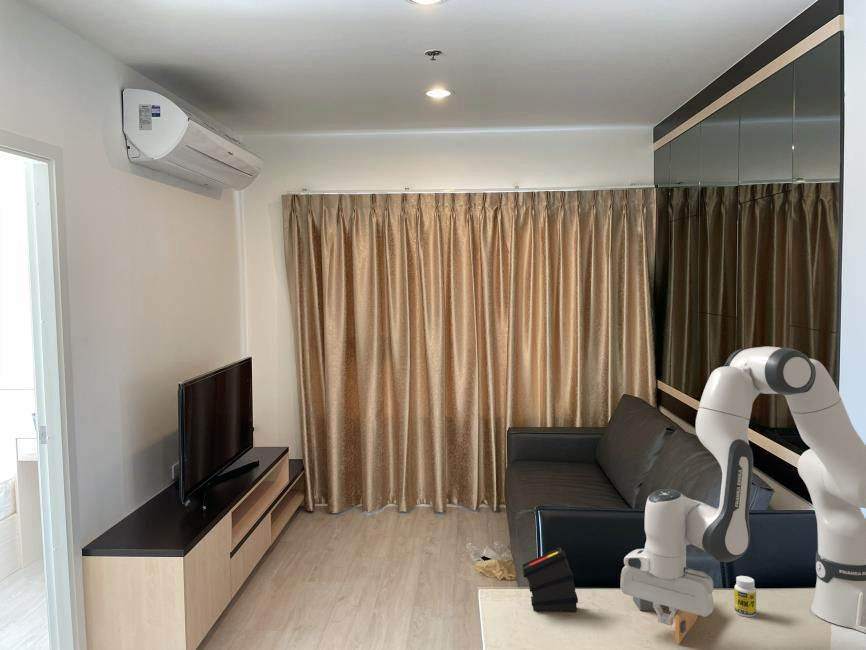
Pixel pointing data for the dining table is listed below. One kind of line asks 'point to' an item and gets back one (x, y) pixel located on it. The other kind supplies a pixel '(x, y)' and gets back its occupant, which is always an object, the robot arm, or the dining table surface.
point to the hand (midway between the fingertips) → (665, 623)
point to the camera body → (647, 605)
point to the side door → (683, 623)
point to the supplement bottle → (745, 596)
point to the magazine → (551, 583)
